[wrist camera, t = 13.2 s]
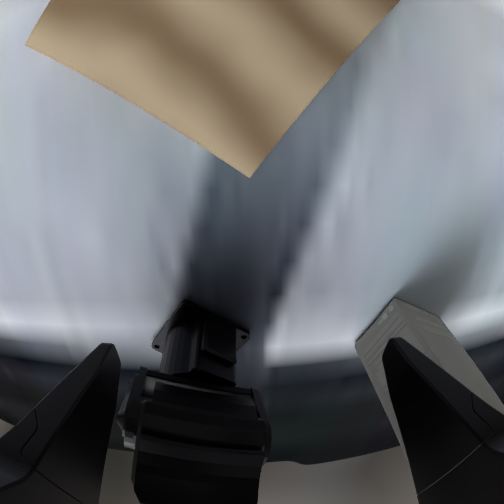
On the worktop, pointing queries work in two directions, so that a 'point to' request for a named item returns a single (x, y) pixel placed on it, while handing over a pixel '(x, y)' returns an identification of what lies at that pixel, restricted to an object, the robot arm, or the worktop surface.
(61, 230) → the worktop surface
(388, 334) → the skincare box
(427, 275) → the worktop surface
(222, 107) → the oak board
